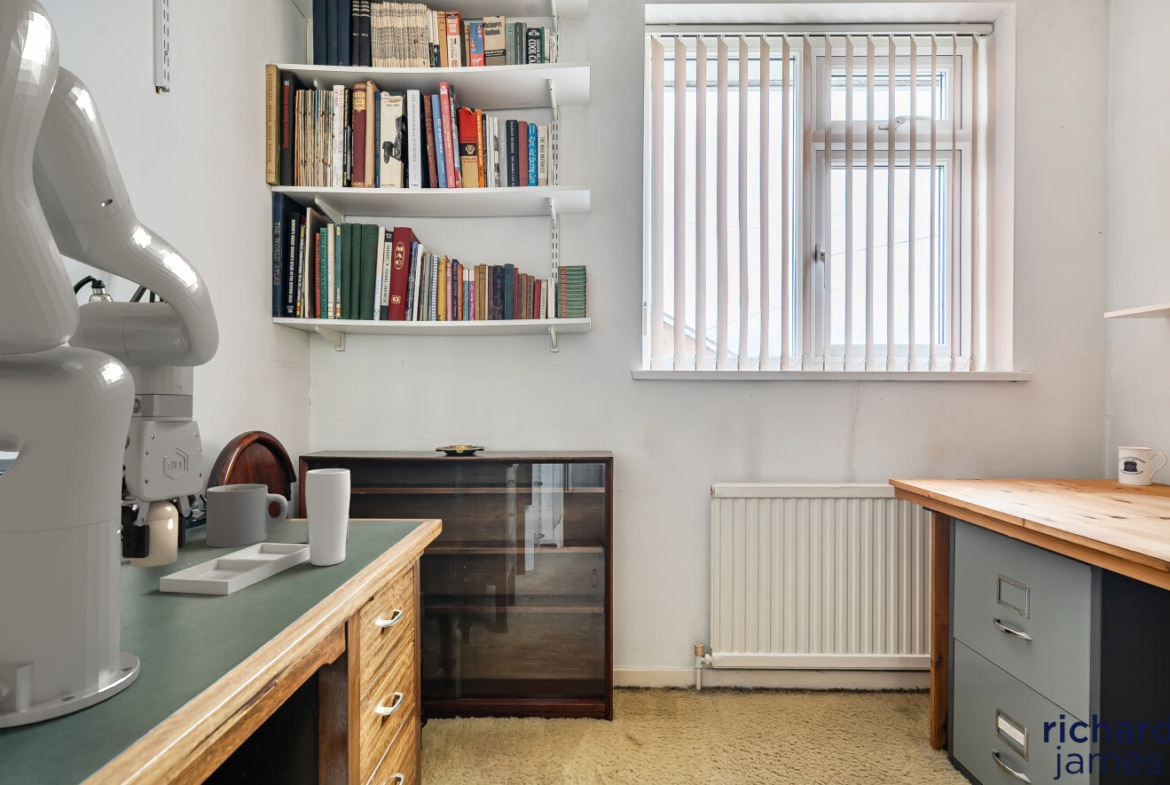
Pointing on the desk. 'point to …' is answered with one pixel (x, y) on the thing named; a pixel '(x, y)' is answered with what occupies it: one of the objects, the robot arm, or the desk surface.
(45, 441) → the robot arm
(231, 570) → the white divided tray
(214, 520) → the coffee mug
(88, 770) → the desk surface
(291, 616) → the desk surface
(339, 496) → the drinking glass
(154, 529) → the beige domed cylinder
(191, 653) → the desk surface
